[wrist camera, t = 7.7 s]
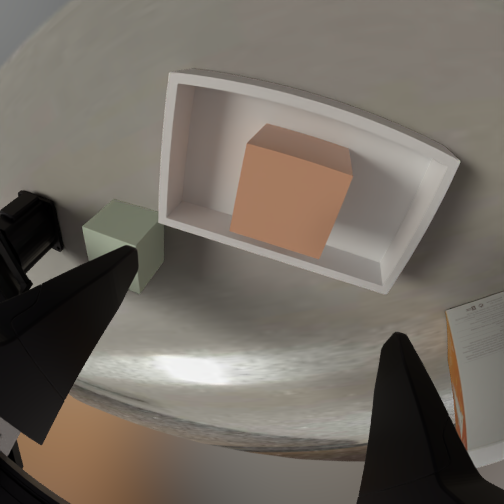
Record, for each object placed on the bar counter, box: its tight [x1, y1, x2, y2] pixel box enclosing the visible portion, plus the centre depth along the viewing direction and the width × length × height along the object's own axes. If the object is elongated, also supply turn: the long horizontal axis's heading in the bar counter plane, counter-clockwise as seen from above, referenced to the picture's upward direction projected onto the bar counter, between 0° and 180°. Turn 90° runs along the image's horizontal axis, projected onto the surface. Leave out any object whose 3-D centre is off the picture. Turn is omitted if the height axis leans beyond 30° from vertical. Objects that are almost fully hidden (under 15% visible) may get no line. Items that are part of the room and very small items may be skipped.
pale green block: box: [82, 199, 164, 294], centre depth 23 cm, size 5×5×4 cm
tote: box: [158, 68, 461, 295], centre depth 17 cm, size 10×16×3 cm, turn 79°
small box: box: [445, 292, 504, 468], centre depth 17 cm, size 8×6×13 cm
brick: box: [229, 123, 353, 259], centre depth 16 cm, size 5×5×4 cm
